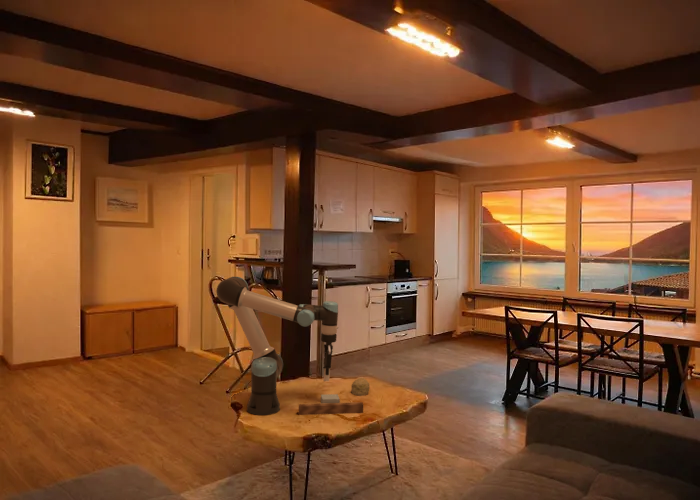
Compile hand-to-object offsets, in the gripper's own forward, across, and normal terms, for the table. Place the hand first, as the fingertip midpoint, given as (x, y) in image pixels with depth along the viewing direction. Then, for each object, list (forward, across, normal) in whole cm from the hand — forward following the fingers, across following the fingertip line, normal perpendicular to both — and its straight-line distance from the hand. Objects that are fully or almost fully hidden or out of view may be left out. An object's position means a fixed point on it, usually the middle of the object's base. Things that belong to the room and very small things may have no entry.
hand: (326, 380), depth 262 cm
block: (+11, -9, -1) cm, 14 cm away
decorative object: (+11, +13, -20) cm, 26 cm away
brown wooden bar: (+11, -14, -1) cm, 18 cm away
